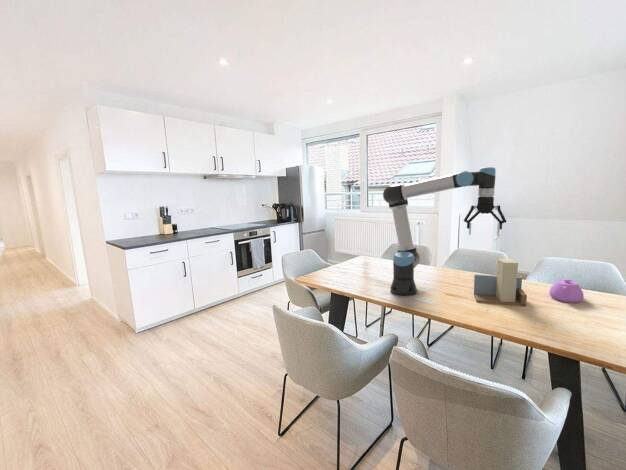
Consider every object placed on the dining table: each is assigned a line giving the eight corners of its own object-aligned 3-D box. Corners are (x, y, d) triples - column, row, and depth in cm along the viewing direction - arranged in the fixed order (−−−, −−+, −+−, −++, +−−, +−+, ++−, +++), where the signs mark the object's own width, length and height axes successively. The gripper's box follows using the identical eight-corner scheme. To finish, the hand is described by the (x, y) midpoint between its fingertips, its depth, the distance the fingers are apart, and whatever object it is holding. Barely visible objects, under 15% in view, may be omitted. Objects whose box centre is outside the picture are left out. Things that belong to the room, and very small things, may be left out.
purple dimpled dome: (585, 296, 157) (587, 277, 155) (581, 307, 143) (583, 286, 142) (552, 290, 167) (553, 272, 165) (546, 300, 153) (547, 281, 152)
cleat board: (476, 302, 155) (477, 280, 154) (473, 294, 166) (474, 274, 164) (526, 306, 147) (527, 283, 145) (519, 298, 158) (521, 276, 156)
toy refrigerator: (517, 302, 150) (519, 262, 146) (501, 301, 151) (503, 262, 148) (510, 296, 157) (513, 258, 154) (495, 296, 159) (497, 258, 156)
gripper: (460, 197, 160) (458, 235, 164) (514, 196, 150) (511, 236, 154) (459, 196, 167) (458, 233, 170) (511, 195, 157) (508, 234, 161)
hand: (483, 234), depth 162 cm, fingers open, 13 cm apart
